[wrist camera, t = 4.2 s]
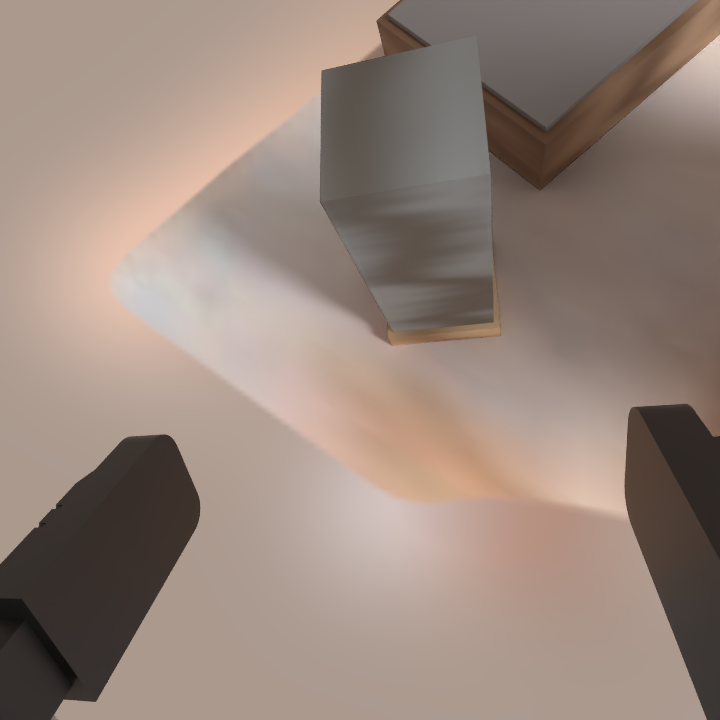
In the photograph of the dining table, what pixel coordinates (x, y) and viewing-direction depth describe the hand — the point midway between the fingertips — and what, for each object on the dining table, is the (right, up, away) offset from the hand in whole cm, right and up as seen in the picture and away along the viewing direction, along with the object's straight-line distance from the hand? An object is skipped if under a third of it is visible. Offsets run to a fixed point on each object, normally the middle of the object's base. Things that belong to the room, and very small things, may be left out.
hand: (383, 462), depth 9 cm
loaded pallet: (+4, +5, +19) cm, 20 cm away
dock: (+11, +20, +21) cm, 32 cm away
